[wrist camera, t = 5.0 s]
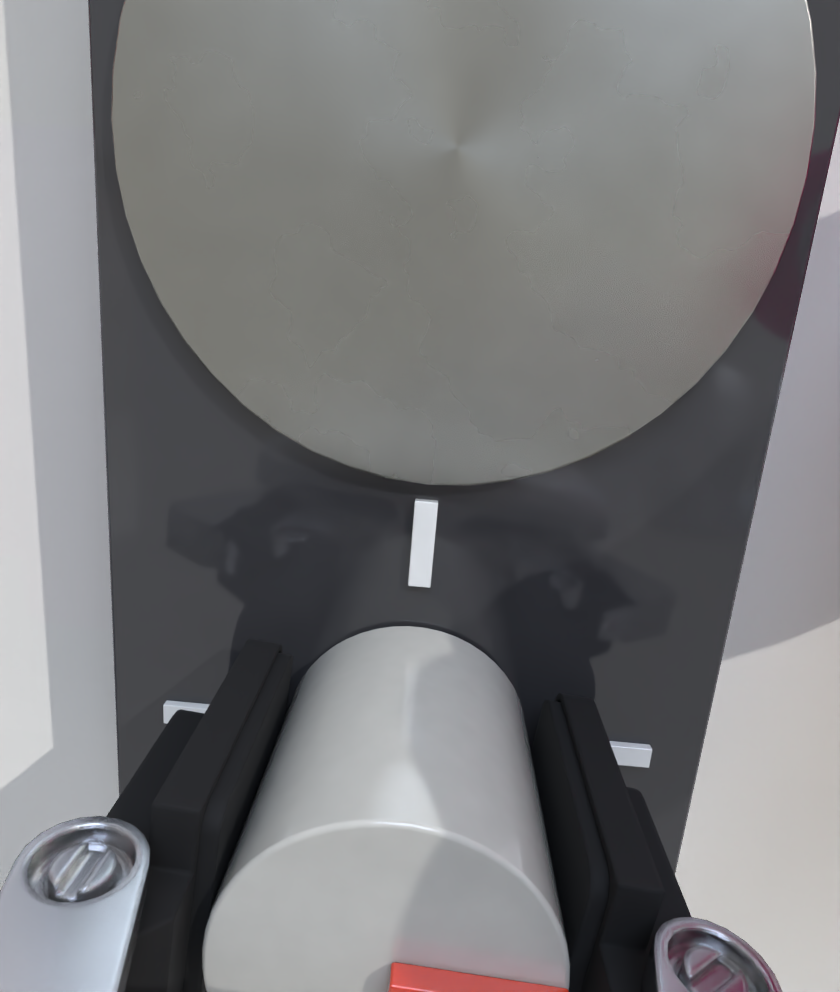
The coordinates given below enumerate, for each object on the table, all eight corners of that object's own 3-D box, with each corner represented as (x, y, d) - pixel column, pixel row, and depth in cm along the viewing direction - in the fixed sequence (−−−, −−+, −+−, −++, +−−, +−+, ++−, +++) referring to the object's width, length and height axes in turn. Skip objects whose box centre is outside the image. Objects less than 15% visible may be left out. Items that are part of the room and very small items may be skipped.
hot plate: (168, -219, 11) (62, -418, 8) (810, -171, 11) (951, -352, 8) (180, 790, 16) (117, 905, 13) (620, 831, 16) (662, 956, 13)
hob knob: (277, 813, 12) (177, 1115, 8) (301, 606, 11) (203, 816, 7) (501, 847, 12) (534, 1168, 8) (547, 644, 11) (615, 880, 7)
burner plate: (884, -244, 8) (901, -265, 8) (730, 506, 11) (737, 512, 10) (107, -303, 8) (95, -325, 8) (130, 454, 11) (121, 457, 11)
